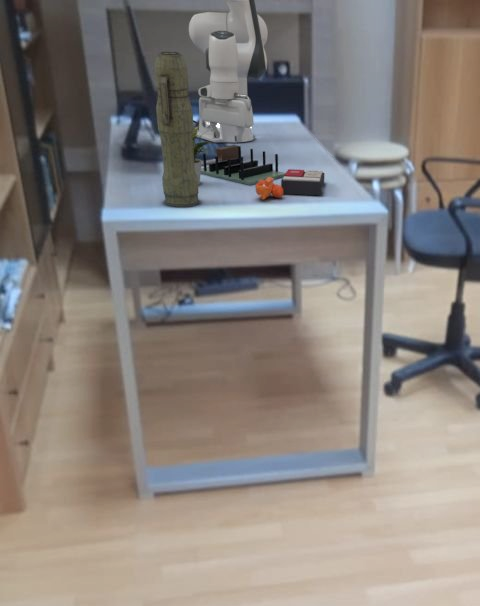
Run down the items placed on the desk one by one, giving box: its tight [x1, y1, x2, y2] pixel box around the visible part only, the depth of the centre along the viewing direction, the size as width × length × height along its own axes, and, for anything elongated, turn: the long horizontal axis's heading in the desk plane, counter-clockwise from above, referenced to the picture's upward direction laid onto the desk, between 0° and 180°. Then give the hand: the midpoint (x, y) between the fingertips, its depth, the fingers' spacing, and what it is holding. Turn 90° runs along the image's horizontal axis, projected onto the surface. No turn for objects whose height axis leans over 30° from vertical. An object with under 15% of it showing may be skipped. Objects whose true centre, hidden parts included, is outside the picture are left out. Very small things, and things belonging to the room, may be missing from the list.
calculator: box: [280, 168, 325, 196], centre depth 220 cm, size 11×4×15 cm
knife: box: [201, 144, 239, 167], centre depth 245 cm, size 17×2×4 cm, turn 144°
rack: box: [200, 145, 286, 186], centre depth 231 cm, size 22×16×6 cm
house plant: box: [192, 126, 214, 186], centre depth 215 cm, size 14×14×16 cm
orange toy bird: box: [255, 177, 284, 201], centre depth 210 cm, size 5×8×12 cm
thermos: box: [154, 51, 200, 208], centre depth 194 cm, size 9×12×35 cm
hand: (227, 139), depth 245 cm, fingers open, 8 cm apart
